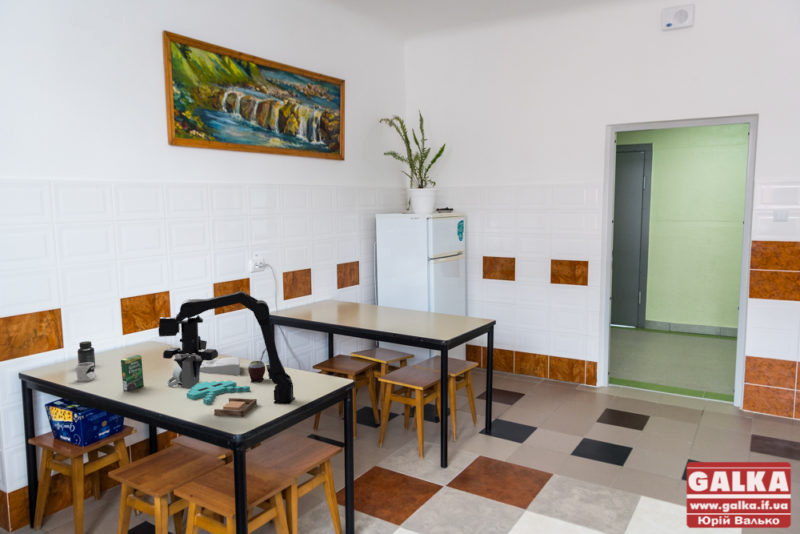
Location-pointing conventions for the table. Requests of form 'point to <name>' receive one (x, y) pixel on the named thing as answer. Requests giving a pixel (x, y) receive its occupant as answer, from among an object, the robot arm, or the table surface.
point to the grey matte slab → (189, 373)
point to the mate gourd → (257, 370)
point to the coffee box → (132, 373)
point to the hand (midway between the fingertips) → (191, 376)
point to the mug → (85, 372)
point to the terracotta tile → (234, 405)
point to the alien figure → (214, 390)
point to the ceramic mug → (176, 376)
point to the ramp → (222, 366)
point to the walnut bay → (241, 413)
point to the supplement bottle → (86, 353)
